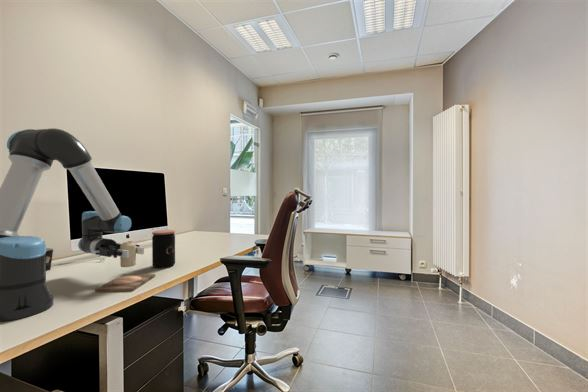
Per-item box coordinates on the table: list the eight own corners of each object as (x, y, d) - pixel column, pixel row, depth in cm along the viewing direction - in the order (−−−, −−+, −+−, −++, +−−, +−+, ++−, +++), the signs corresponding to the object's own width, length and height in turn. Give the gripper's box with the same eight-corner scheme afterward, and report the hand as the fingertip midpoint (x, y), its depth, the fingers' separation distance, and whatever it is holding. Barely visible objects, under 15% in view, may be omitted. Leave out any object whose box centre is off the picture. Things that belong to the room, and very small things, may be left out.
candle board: (132, 291, 102) (132, 287, 102) (95, 291, 102) (95, 287, 102) (155, 276, 120) (155, 273, 120) (123, 277, 120) (123, 273, 120)
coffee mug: (53, 267, 136) (52, 247, 136) (54, 270, 130) (53, 250, 130) (20, 271, 128) (20, 251, 128) (19, 275, 122) (19, 253, 122)
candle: (128, 267, 108) (128, 243, 108) (117, 267, 109) (116, 242, 109) (139, 264, 114) (138, 240, 113) (128, 263, 115) (127, 240, 114)
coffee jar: (169, 268, 133) (169, 232, 133) (148, 268, 133) (147, 232, 133) (178, 263, 143) (178, 229, 143) (159, 263, 144) (158, 229, 143)
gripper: (125, 251, 128) (156, 256, 117) (80, 260, 111) (111, 267, 101) (125, 235, 128) (156, 239, 117) (79, 242, 111) (111, 247, 101)
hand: (135, 252), depth 109 cm, fingers closed on candle, 5 cm apart
